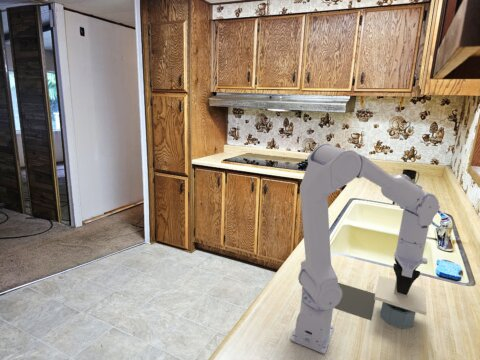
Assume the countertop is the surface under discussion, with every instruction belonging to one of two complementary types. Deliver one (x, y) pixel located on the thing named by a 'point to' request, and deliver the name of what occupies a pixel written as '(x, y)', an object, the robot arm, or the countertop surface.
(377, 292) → the cover
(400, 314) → the bowl
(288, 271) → the countertop surface
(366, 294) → the mat
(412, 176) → the gray black pitcher
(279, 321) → the countertop surface
